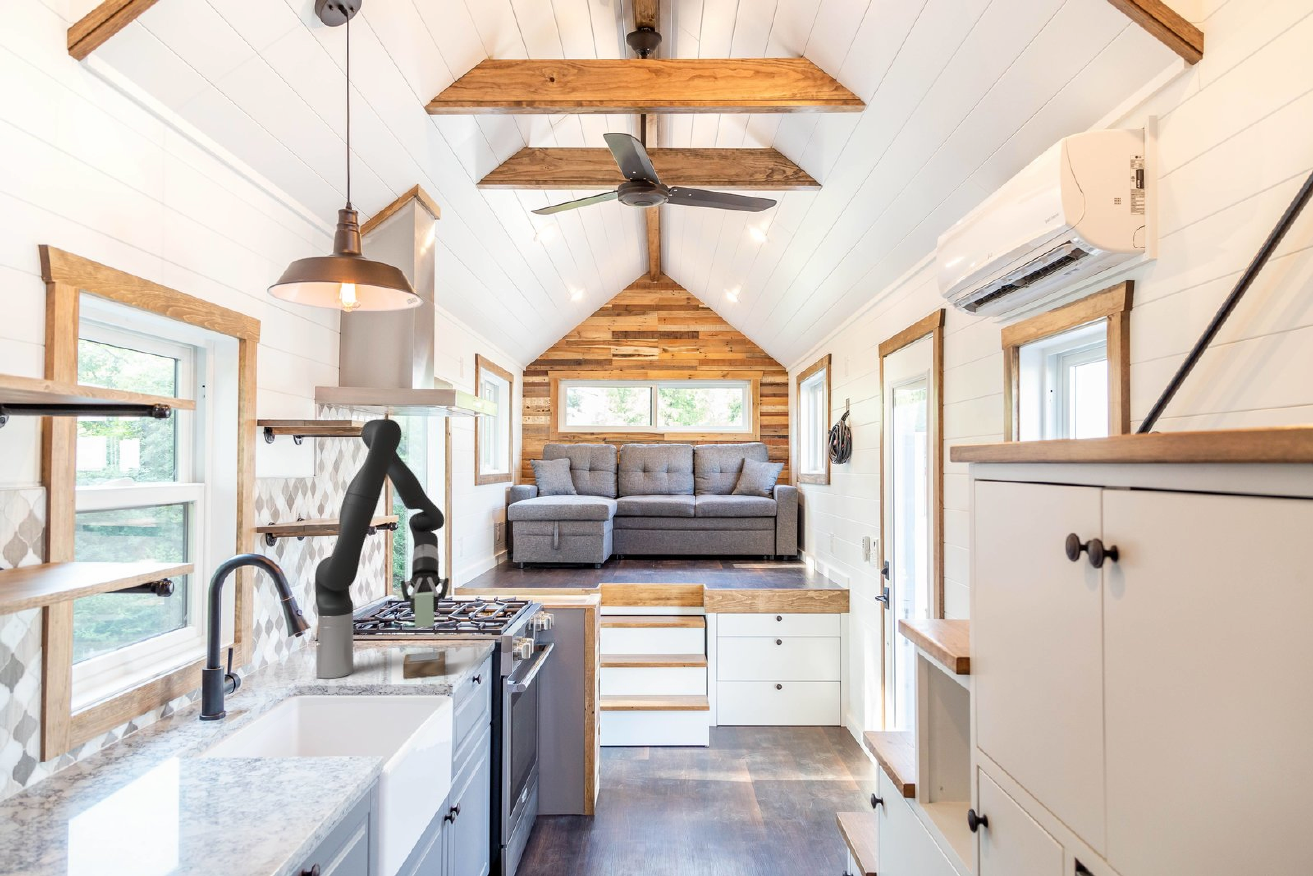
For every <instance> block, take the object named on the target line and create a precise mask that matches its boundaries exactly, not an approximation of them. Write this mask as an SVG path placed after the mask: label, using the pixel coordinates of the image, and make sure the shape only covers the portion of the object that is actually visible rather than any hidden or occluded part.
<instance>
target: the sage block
mask: <svg viewBox="0 0 1313 876" xmlns="http://www.w3.org/2000/svg"><path fill="white" fill-rule="evenodd" d="M433 600H434V592H420V593H417V594H415V614H414V628H415V629H417V628H429V627H431V628H432V627H435V612H434V611H433Z"/></svg>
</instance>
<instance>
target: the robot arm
mask: <svg viewBox="0 0 1313 876" xmlns="http://www.w3.org/2000/svg"><path fill="white" fill-rule="evenodd" d="M361 439H362V441H363V443H364V445H365V446H366V448H367V449H368V452H367V455H366V458H365V461H364V463H363V464H362V466H361V467H360V469H359V470H358V471H357V473H356V475H355V476H354V477H353V478H352V480H351V482H350V483H349V484H348V486H347V488H346V491H345V495H344V496H343V500H342V503H341V507H340V511H339V517H338V518H339V519H338V520H339V521H338V522H339V523H338V535H337V540H336V543H335V545H334V548H333V552H332V554H331V555H330V556H328V557H325V558H323V559H322V560H320V562H319V563H318V565H317V567H316V568H315V572H314V573H315V575H314V576H315V577H314V578H315V579H314V587H315V588H314V589H315V602H316V606H317V628H318V629H317V643H316V647H315V649H316V652H315V653H316V665H315V666H316V670H315V671H316V678H317V679H321V678H322V679H335V678H342V677H347V676H348V675H349V676H350V675H351V674H353V673H354V602H353V600H352V598H351V594H350V586H352V584H354V581H355V579H356V578H357V577H356V576H357V573H358V569H359V565H360V560H361V555H362V550H363V548H364V547H363V546H364V543H365V540H366V537H367V535H368V532H369V529H370V526H371V523H372V520H373V517H374V516H375V513H376V509H377V507H378V503H379V500H380V496H381V493H382V489H383V487H384V485H385V481H386V478H387V476H388V478H389V479H390V481H391V482H392V484H393V486H394V488H395V491H396V492H397V493H398V495H399V497H400V500H401V501H402V503H403V505H404V507H405V508H406V509H407V510H420V512H416V513H415V514H412V516H410V517H409V521H408V527H409V529H410V531H411V534H412V538H413V554H412V562H411V563H412V566H411V578H410V580H407V581H405V580H401V581H400V589H401V593H402V596H403V600H404V602H405V603H407V602H409V603H410V604H409V607H410V608H409V611H410V613H412V614H413V615H415V594H417V593H420V592H434V600H433V611H434V613H436V611H438V610H439V601H440V600H445V599H446V596H447V593H448V589H449V586H450V578H449V577H445V578H444V579H443V578H440V576H439V573H440V572H439V564H440V561H439V560H440V559H439V558H440V557H439V556H440V555H439V538H438V536H437V534H436V533H435V531H438V530H440V529H442V528H443V526H444V524H445V517H444V514H443V513H442V511H441V510H440V508H438V507H437V506H436V504H434V502H433V501H432V500H431V499H430V498H429V497H428V496H427V495H426V492H425V491H424V489H423V487H422V484H421V482H420V481H419V479H418V478H417V476H416V475H415V474H414V472H413V471H412V470H411V469H410V467H408V465H406V463H405V462H404V461H403V459H402V458H401V457H400V455H399V454H398V452H397V450H398V447H399V445H400V443H401V440H402V428H401V425H400V424H399V423H398V422H397V421H396V420H393V419H388V418H379V419H372V420H369V421H366V422H365V424H364V425H363V426H362V428H361ZM439 585H441V591H440V592H438V590H437V587H438V586H439ZM409 587H412V593H411V595H410V594H409V592H408V589H409Z"/></svg>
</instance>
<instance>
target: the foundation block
mask: <svg viewBox="0 0 1313 876" xmlns="http://www.w3.org/2000/svg"><path fill="white" fill-rule="evenodd" d="M404 656H405V657H404V660H403V663H402V664H403V665H402V669H403V670H402V673H403V675H402V676H403V677H402V678H410V679H417V677H420V678H427V677H426V676H431V677H436V676H435V675H441V676H445V675H446V650H444V651H432V652H420V653H409V654H405V655H404Z"/></svg>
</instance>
